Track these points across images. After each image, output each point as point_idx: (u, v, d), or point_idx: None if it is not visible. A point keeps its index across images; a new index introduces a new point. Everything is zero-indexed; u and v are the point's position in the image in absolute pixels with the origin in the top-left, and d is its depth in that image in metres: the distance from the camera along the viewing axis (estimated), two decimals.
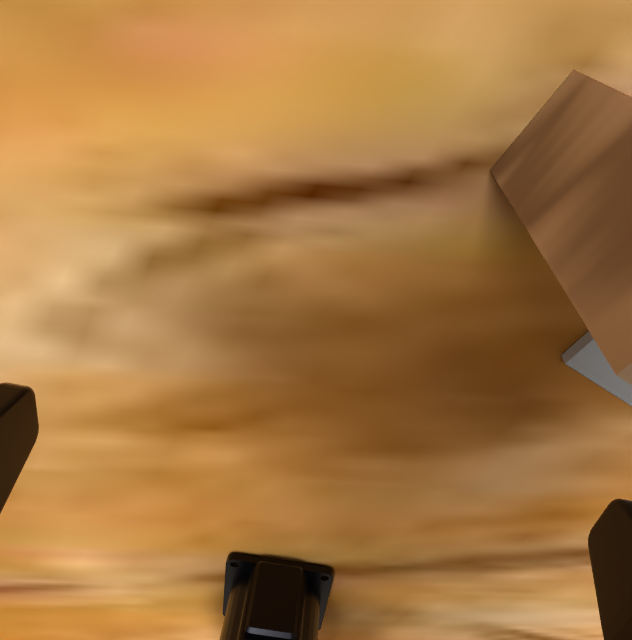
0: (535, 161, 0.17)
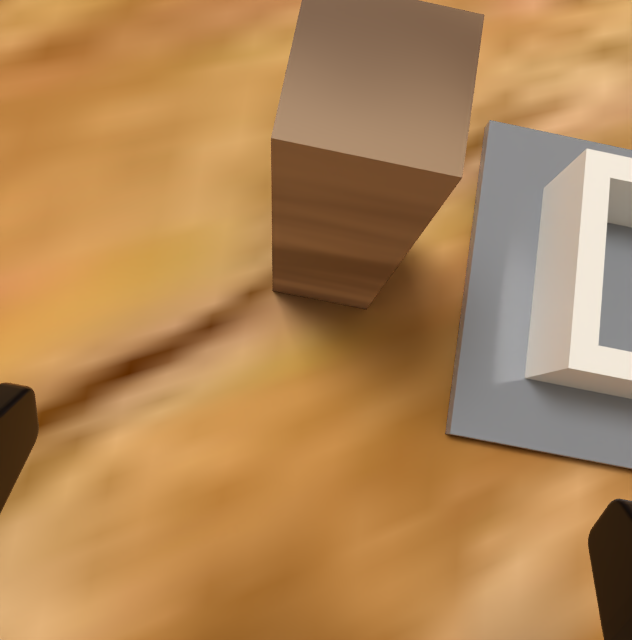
0: None
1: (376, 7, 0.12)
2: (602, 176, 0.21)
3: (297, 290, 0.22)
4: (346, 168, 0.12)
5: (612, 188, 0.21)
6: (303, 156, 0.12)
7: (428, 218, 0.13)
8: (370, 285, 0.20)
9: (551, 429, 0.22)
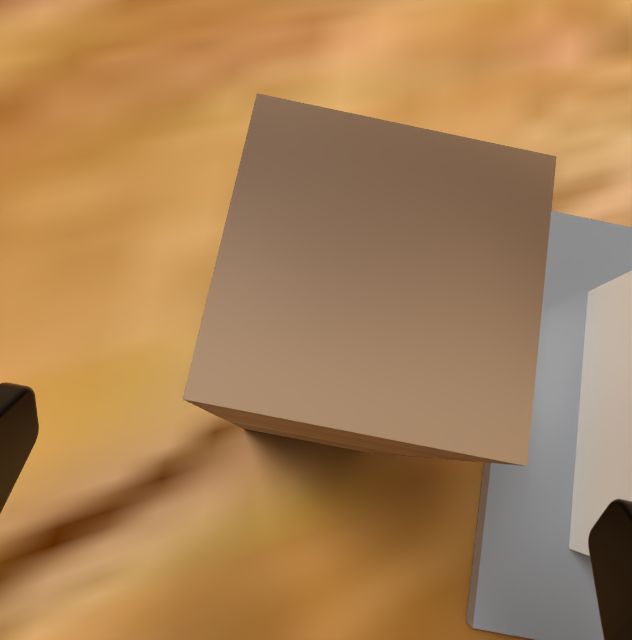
0: None
1: (374, 147, 0.07)
2: None
3: (274, 434, 0.17)
4: (322, 428, 0.07)
5: None
6: (246, 412, 0.07)
7: (457, 459, 0.08)
8: (368, 450, 0.15)
9: None
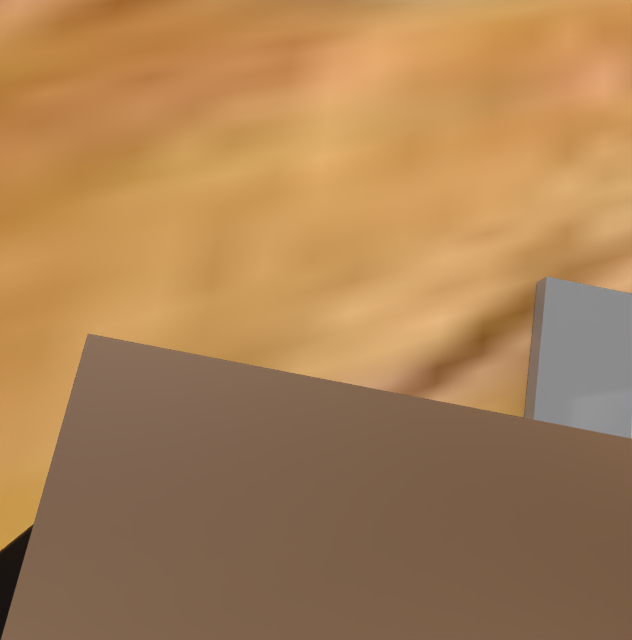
0: None
1: (343, 453, 0.03)
2: None
3: None
4: None
5: None
6: None
7: None
8: None
9: None
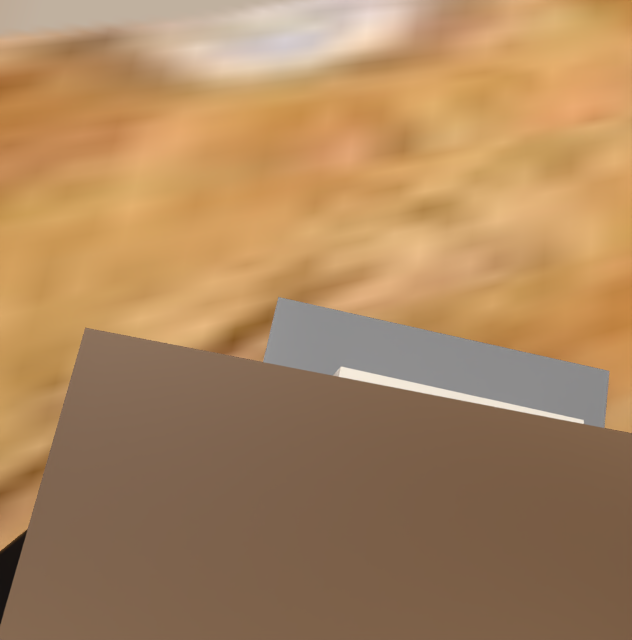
0: None
1: (341, 447, 0.03)
2: None
3: None
4: None
5: None
6: None
7: None
8: None
9: None
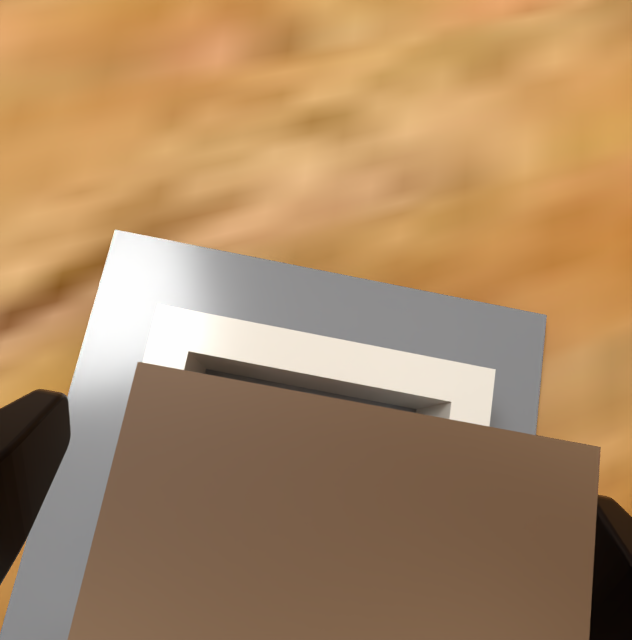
0: None
1: (320, 446, 0.05)
2: (175, 349, 0.13)
3: None
4: None
5: (212, 359, 0.14)
6: None
7: None
8: None
9: None
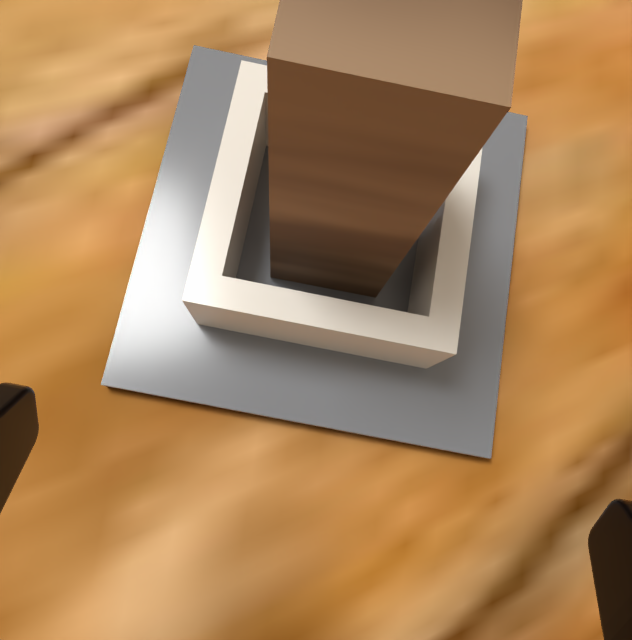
0: None
1: None
2: (255, 90, 0.18)
3: (298, 276, 0.20)
4: (362, 99, 0.09)
5: None
6: (308, 85, 0.09)
7: (460, 171, 0.11)
8: (382, 266, 0.17)
9: (221, 380, 0.19)
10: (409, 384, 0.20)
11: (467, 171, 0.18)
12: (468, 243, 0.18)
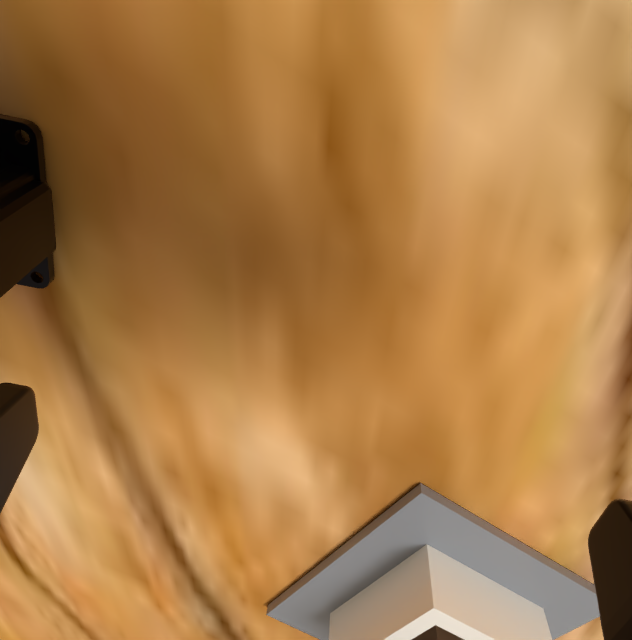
0: (455, 639, 0.28)
1: None
2: None
3: None
4: None
5: None
6: None
7: None
8: None
9: (383, 541, 0.29)
10: (326, 604, 0.32)
11: None
12: None
